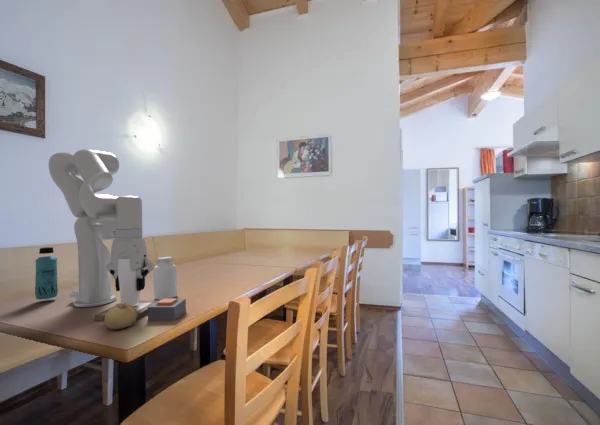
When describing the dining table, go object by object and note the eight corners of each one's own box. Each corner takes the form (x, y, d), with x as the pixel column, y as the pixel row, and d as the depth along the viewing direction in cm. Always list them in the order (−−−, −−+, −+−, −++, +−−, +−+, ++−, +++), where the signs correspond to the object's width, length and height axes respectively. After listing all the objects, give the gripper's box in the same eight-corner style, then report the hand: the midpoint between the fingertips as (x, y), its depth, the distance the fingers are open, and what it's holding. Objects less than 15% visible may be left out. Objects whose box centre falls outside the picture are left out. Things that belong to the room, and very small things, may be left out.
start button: (157, 312, 91) (157, 302, 91) (164, 308, 96) (164, 298, 96) (171, 312, 91) (170, 302, 91) (177, 308, 95) (177, 298, 95)
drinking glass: (146, 300, 101) (145, 255, 101) (133, 307, 94) (132, 259, 94) (127, 300, 102) (126, 256, 102) (113, 307, 95) (112, 259, 95)
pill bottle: (169, 293, 120) (168, 255, 120) (181, 296, 116) (180, 257, 116) (149, 298, 114) (149, 258, 114) (161, 301, 109) (160, 259, 109)
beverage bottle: (31, 302, 111) (30, 248, 111) (51, 298, 117) (50, 246, 117) (42, 304, 108) (40, 248, 108) (62, 299, 115) (61, 246, 115)
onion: (97, 330, 83) (97, 304, 83) (122, 320, 90) (122, 296, 90) (119, 334, 80) (119, 307, 80) (144, 323, 88) (143, 298, 88)
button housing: (147, 320, 90) (147, 307, 90) (161, 311, 98) (161, 299, 98) (174, 320, 89) (174, 306, 89) (185, 311, 97) (185, 299, 97)
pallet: (94, 320, 91) (94, 314, 91) (125, 305, 106) (125, 300, 106) (137, 320, 90) (137, 314, 90) (162, 304, 105) (162, 300, 105)
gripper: (95, 235, 95) (96, 293, 95) (149, 234, 94) (150, 293, 94) (111, 233, 102) (112, 287, 102) (161, 233, 101) (162, 287, 102)
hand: (130, 289), depth 98 cm, fingers closed on drinking glass, 6 cm apart
